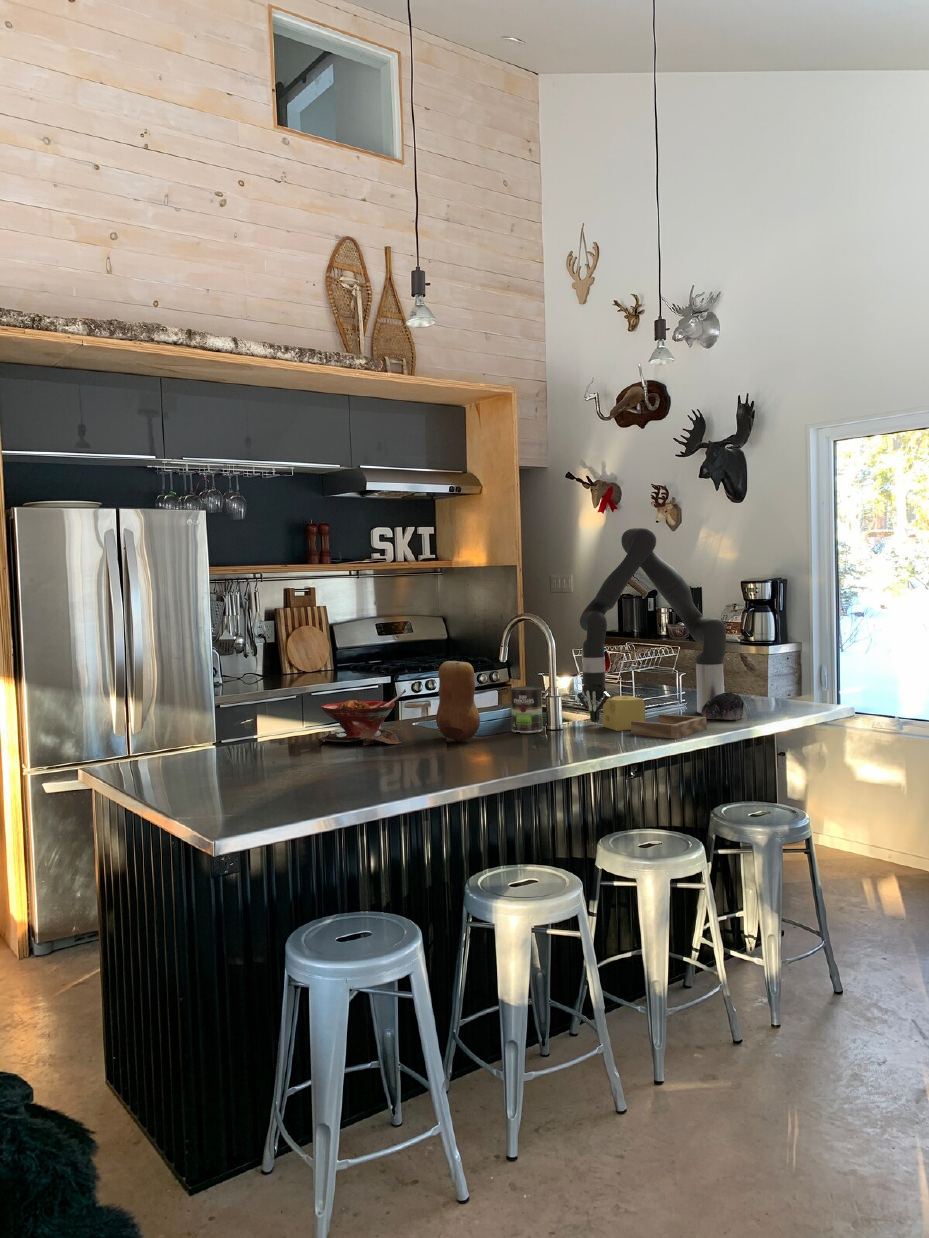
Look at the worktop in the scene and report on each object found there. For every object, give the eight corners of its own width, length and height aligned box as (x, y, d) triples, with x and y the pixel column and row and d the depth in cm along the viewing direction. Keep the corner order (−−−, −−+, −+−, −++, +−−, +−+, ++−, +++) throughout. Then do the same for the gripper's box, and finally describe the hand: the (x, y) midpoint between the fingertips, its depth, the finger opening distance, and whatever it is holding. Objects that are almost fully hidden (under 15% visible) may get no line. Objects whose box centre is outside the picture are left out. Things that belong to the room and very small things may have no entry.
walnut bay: (661, 725, 314) (661, 713, 314) (706, 729, 303) (706, 717, 303) (631, 734, 300) (630, 721, 299) (677, 738, 289) (676, 725, 289)
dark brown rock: (694, 719, 325) (693, 690, 325) (728, 716, 329) (728, 688, 329) (716, 725, 312) (716, 694, 312) (752, 721, 317) (751, 692, 316)
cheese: (602, 727, 316) (601, 696, 315) (631, 724, 319) (630, 694, 319) (616, 731, 306) (615, 700, 305) (646, 728, 309) (645, 698, 309)
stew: (409, 734, 315) (407, 685, 314) (406, 747, 291) (404, 694, 290) (324, 737, 315) (322, 688, 314) (313, 750, 291) (311, 698, 290)
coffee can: (539, 733, 307) (538, 689, 307) (508, 733, 310) (506, 689, 310) (546, 728, 317) (544, 686, 316) (515, 728, 320) (514, 686, 319)
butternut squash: (482, 735, 306) (479, 658, 305) (478, 743, 293) (476, 662, 292) (439, 736, 308) (436, 659, 306) (434, 744, 294) (431, 663, 293)
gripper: (616, 670, 318) (617, 722, 318) (583, 668, 326) (584, 718, 327) (604, 672, 312) (605, 725, 313) (571, 670, 321) (572, 721, 322)
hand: (594, 721), depth 320 cm, fingers closed
